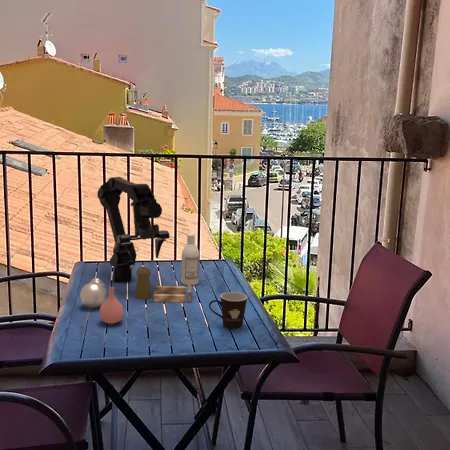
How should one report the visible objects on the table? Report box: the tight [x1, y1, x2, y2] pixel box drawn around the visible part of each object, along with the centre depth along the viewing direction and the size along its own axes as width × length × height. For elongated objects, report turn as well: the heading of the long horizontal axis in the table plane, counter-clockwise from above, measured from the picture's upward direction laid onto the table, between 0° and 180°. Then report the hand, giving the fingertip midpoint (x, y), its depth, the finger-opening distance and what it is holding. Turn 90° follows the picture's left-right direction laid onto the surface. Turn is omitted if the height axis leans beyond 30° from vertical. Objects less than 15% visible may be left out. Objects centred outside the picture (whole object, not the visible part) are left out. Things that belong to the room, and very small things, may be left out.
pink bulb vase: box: [98, 286, 125, 325], centre depth 181 cm, size 8×8×12 cm
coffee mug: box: [208, 291, 248, 330], centre depth 184 cm, size 12×9×10 cm
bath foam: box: [180, 233, 200, 286], centre depth 223 cm, size 7×7×20 cm
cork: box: [134, 266, 153, 301], centre depth 206 cm, size 6×6×11 cm
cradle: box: [152, 283, 192, 304], centre depth 207 cm, size 14×10×4 cm
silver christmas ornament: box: [79, 277, 108, 309], centre depth 194 cm, size 9×10×10 cm
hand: (145, 259), depth 209 cm, fingers open, 9 cm apart
